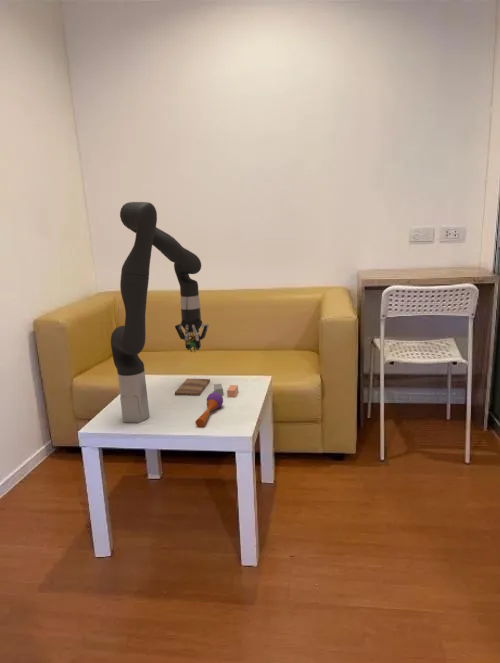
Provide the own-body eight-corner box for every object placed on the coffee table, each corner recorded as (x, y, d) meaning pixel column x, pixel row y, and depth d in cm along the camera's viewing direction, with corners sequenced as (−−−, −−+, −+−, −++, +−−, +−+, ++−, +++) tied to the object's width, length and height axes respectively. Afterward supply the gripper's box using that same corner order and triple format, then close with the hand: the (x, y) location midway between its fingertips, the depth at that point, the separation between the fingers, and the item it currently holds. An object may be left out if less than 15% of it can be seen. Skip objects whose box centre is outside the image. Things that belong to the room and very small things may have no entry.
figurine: (203, 348, 212) (202, 328, 210) (189, 356, 201) (187, 335, 199) (197, 347, 213) (195, 328, 211) (182, 355, 203) (180, 335, 201)
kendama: (189, 416, 174) (207, 390, 192) (194, 432, 175) (212, 405, 194) (205, 414, 172) (222, 388, 190) (210, 430, 174) (226, 403, 192)
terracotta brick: (235, 397, 199) (234, 390, 198) (227, 397, 199) (226, 390, 199) (238, 392, 205) (237, 385, 204) (230, 392, 205) (230, 385, 204)
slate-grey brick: (223, 396, 201) (222, 388, 201) (215, 396, 201) (215, 389, 200) (221, 390, 207) (221, 383, 206) (214, 391, 207) (213, 384, 206)
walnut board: (199, 395, 203) (199, 392, 202) (175, 395, 205) (174, 392, 204) (210, 381, 218) (209, 378, 218) (187, 381, 220) (186, 378, 220)
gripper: (170, 308, 201) (173, 351, 205) (205, 308, 198) (207, 352, 202) (176, 305, 208) (179, 346, 212) (210, 305, 205) (212, 347, 209)
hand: (193, 349), depth 207 cm, fingers closed on figurine, 3 cm apart
